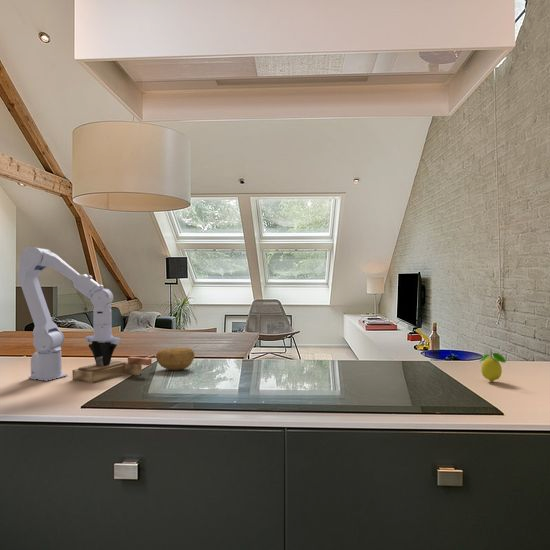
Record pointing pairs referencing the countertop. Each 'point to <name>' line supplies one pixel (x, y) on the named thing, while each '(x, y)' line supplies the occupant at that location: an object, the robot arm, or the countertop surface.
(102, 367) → the lid
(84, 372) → the toolbox
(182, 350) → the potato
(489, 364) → the lemon
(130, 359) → the wooden bar
